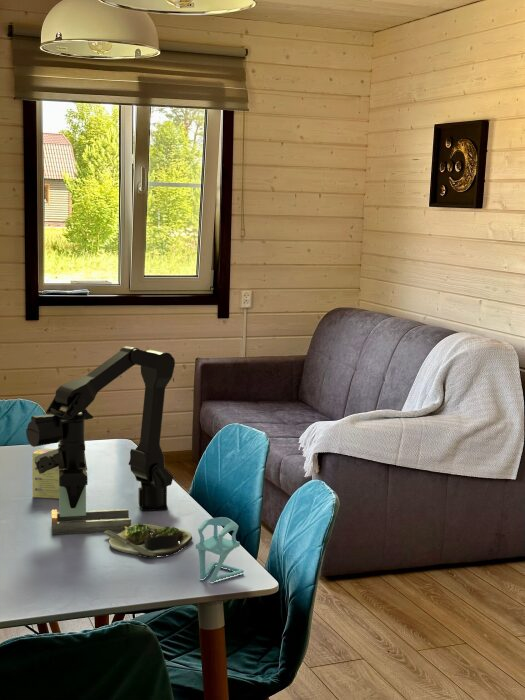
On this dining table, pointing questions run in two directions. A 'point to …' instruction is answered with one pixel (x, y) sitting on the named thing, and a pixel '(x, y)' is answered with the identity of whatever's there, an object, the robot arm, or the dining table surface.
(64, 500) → the module
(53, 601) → the dining table surface
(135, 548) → the salad plate
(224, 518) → the chair
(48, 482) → the box
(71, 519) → the rail
